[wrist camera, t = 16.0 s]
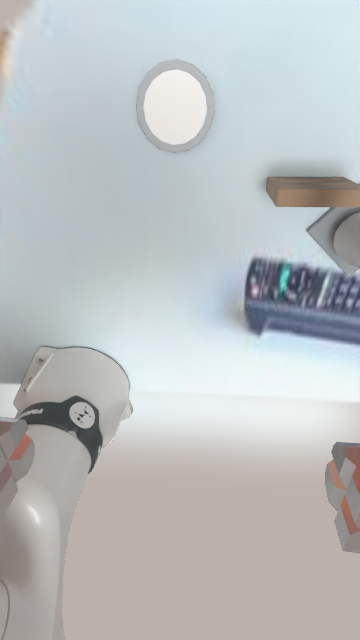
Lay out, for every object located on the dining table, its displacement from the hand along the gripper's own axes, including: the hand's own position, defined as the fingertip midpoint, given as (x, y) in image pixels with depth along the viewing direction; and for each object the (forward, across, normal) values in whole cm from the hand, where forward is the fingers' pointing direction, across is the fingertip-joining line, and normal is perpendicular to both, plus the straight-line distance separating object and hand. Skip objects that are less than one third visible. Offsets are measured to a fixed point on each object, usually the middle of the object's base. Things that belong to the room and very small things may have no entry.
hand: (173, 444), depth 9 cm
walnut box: (+35, -10, -1) cm, 37 cm away
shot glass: (+35, +3, -8) cm, 36 cm away
